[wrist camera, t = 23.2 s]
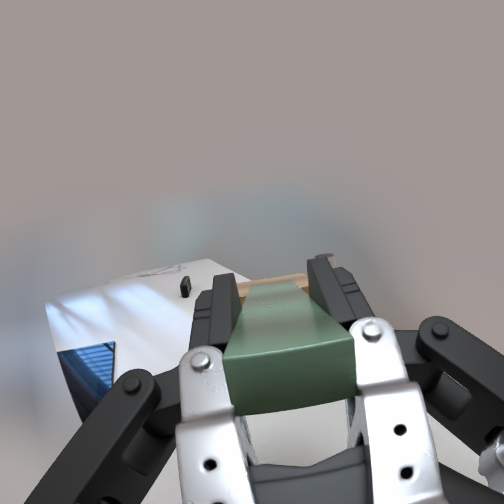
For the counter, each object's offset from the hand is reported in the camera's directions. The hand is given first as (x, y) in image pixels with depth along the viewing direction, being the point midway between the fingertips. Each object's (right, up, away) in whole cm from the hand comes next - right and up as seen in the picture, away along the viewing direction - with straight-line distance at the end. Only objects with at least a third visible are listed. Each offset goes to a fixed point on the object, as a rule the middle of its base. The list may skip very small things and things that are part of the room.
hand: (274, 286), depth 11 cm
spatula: (0, -2, +5) cm, 5 cm away
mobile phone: (-25, -14, +98) cm, 103 cm away
